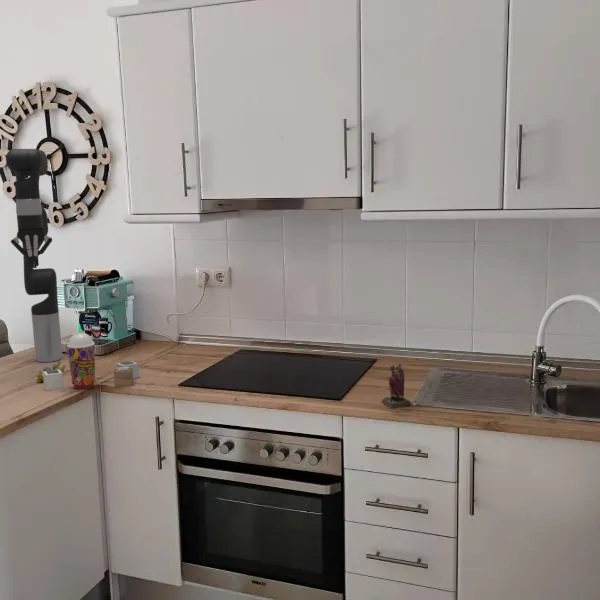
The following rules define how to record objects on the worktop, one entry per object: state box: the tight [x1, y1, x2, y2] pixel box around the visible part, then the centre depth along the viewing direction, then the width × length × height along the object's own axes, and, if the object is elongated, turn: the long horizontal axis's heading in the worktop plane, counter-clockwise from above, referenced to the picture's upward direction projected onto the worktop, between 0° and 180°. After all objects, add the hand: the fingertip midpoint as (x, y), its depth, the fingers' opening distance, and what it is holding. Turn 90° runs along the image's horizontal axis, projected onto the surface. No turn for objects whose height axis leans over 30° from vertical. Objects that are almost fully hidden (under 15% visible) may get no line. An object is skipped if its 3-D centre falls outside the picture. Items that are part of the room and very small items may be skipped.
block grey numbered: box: [115, 360, 140, 380], centre depth 228 cm, size 5×5×5 cm
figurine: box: [381, 363, 412, 410], centre depth 195 cm, size 6×6×12 cm
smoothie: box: [66, 323, 96, 390], centre depth 219 cm, size 8×8×20 cm
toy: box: [36, 360, 67, 383], centre depth 232 cm, size 5×5×15 cm
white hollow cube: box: [43, 368, 64, 392], centre depth 220 cm, size 5×5×5 cm
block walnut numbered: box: [113, 367, 134, 388], centre depth 221 cm, size 5×5×5 cm
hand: (34, 267), depth 224 cm, fingers closed
